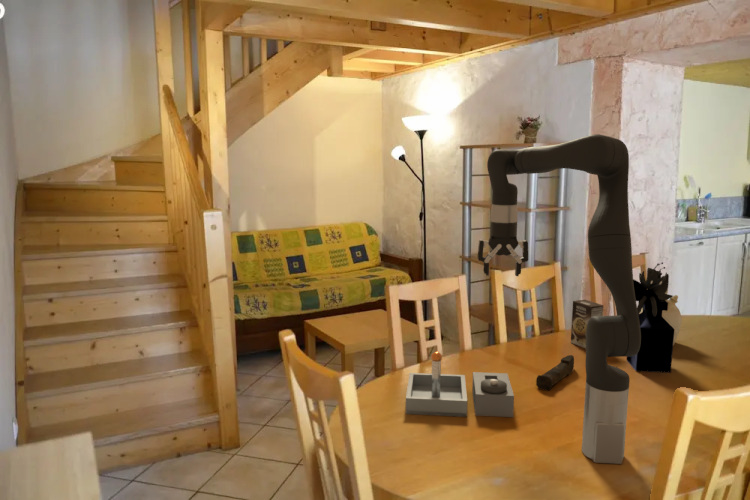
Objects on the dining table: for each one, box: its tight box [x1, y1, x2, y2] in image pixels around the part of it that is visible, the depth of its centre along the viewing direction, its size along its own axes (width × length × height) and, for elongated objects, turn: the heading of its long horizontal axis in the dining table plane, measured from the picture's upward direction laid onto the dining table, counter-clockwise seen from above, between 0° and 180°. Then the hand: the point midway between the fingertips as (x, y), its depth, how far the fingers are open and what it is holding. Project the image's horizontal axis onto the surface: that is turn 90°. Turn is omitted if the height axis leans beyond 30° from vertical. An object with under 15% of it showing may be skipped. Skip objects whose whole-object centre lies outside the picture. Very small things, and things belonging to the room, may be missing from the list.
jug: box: [639, 276, 682, 346], centre depth 212 cm, size 15×16×25 cm
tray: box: [405, 372, 468, 418], centre depth 163 cm, size 18×16×4 cm
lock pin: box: [430, 351, 443, 398], centre depth 162 cm, size 3×3×14 cm
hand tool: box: [535, 354, 575, 391], centre depth 178 cm, size 23×5×6 cm, turn 137°
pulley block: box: [471, 371, 515, 418], centre depth 161 cm, size 16×10×8 cm, turn 173°
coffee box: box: [570, 299, 605, 350], centre depth 210 cm, size 9×6×16 cm
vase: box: [626, 262, 674, 373], centre depth 186 cm, size 14×12×35 cm
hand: (502, 275), depth 167 cm, fingers open, 8 cm apart
